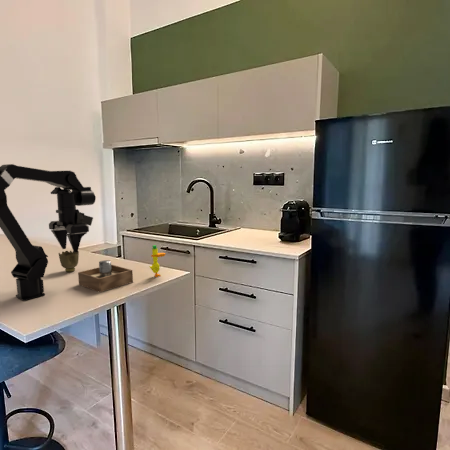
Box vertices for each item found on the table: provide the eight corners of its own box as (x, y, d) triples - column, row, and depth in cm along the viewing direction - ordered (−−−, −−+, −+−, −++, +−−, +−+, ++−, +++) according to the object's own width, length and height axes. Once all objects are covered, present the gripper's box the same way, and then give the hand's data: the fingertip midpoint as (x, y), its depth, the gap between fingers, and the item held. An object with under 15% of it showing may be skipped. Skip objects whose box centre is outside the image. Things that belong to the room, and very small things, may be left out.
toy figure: (164, 273, 129) (163, 243, 127) (167, 275, 126) (166, 245, 124) (147, 276, 126) (146, 245, 124) (150, 278, 123) (149, 247, 121)
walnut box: (99, 292, 108) (98, 279, 108) (79, 284, 117) (78, 272, 116) (132, 282, 119) (132, 270, 118) (112, 275, 127) (111, 264, 126)
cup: (72, 274, 129) (70, 254, 128) (55, 273, 131) (54, 253, 130) (84, 269, 137) (82, 250, 135) (68, 268, 138) (66, 249, 137)
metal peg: (104, 286, 115) (102, 263, 114) (98, 283, 117) (96, 261, 116) (114, 283, 118) (113, 261, 117) (108, 281, 120) (106, 259, 119)
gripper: (102, 206, 115) (104, 250, 117) (77, 204, 127) (79, 244, 129) (70, 208, 107) (73, 255, 109) (46, 206, 119) (50, 248, 121)
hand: (69, 250), depth 117 cm, fingers open, 9 cm apart
